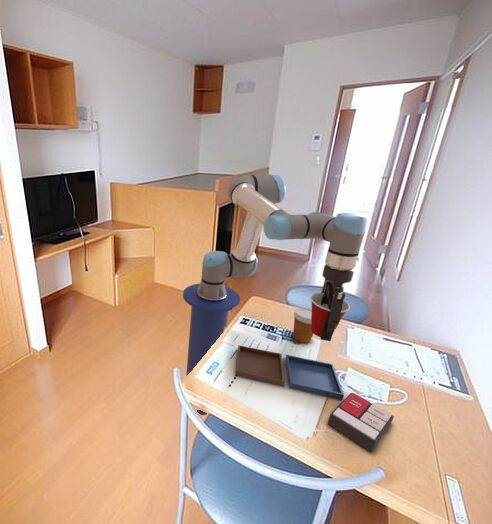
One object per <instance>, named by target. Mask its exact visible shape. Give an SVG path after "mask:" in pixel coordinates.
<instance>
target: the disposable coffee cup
mask: <svg viewBox="0 0 492 524" xmlns="http://www.w3.org/2000/svg"><path fill="white" fill-rule="evenodd" d="M311 314H312V308H307V307H299V308H297V309H295V311H294V312H293V316H294V319H293V335H292V336H293V339H294V341H296V342H298V343H302V344H309V343H311V340H312V338H313V336H314V334H313V333H312V329H311V323H312V322H311Z"/></svg>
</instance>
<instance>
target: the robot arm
mask: <svg viewBox="0 0 492 524" xmlns="http://www.w3.org/2000/svg"><path fill="white" fill-rule="evenodd" d="M227 194H228V198H229V200H230V201H231V202H232V203H233V204H234V205H235V206H236V207H238V208H239V207H240V208H243V209H244V210H245V211H246V215H245V219H244V222H243V225H242V228H241V232H240V235H239V237H238V241H237V244H236V246H235V247H234V248H232V250H231V253H230V254H228V253H227V252H225V251H222V250H213V251H209V252H207V253H206V254H204V255H203V257H202V258H203V259H202V263H201V264H202V266H201V267H202V268H201V278H200V282H199V284H200V285H199V286H198V289H197V296H198V297H199V298H200V299H202V300H205V301H209V302H220V301H223V300H225V299H226V294H227V293H226V289H225V287H226V284H225V280H226V279H225V278H247V277H251V276H253V275H254V274H255V273H256V272H257V270H258V263H259V261H258V257H257V256H256V253H255V250H256V248H257V245H258V243H259V240H260V236H261V234H262V231H263V233H264V236H265V237H266V238H267V239H268V240H276V241H284V240H310V239H311V240H312V239H320V240H323V241H325V242H328V243H329V247H328V249H327V251H326V252H327V253H326V257H325V261H324V263H325V264H324V265H323V270H322V274H321V275H322V277H323V279H324V280H323V281H324V282H323V284H322V287H321V292H320V293H324V295H323V297H322V301H321V305H322V304H328V309H330V311H328V313H327V318H326V320H323V321H324V325H323V329H322V333H321V337H319V339H320V340H321V341H327V342H331V341H332V337H333V335H334V333H333V331H334V327H335V325H338V326H339V324H340V322H339V319H340V315H341V310H342V305H343V300H345V298H346V293H345V292H344V290H345V289H344V288H345V287H344V284H348V283H351V282H352V280H353V277H354V272H355V270H354V269H355V268H356V265H357V261H360V257H359V254H360V250H361V248H362V244H363V240H364V237H365V235H366V229H367V224H368V218H367V217H366V215H363V214H360V213H355V212H339V213H338V214H336V216H334V215H330V214H328V213H326V212H320V211H312V212H309V213H308V214H291V213H289V212H287V211H286V210H284V209H283V208H281V207H280V206H279V205H277V204H279V203H280V204H281V202H283V200H284V199H285V197H286V184H285V180H284V179H283V177H281V176H280V175H278V174H244V175H240V176H238V177H236V178H235V179H234V180H232V181H231V183H230V185H229V186H228V193H227ZM334 332H335V331H334ZM332 334H333V335H332Z"/></svg>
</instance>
